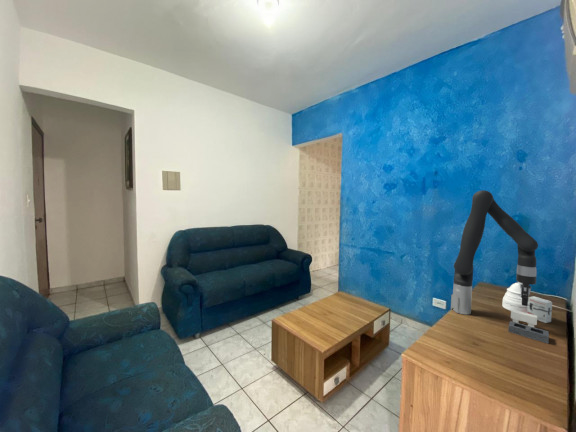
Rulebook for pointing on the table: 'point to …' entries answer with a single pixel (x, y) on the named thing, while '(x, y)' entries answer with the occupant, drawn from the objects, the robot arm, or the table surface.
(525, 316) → the light grey box
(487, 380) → the table surface
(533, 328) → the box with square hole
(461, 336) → the table surface
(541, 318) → the ink box
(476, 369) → the table surface
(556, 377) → the table surface
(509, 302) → the honey pot
